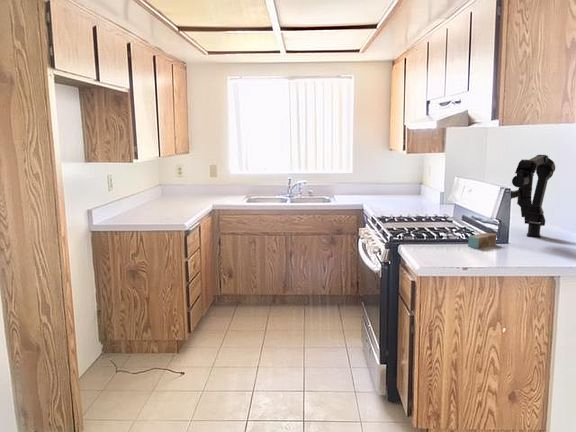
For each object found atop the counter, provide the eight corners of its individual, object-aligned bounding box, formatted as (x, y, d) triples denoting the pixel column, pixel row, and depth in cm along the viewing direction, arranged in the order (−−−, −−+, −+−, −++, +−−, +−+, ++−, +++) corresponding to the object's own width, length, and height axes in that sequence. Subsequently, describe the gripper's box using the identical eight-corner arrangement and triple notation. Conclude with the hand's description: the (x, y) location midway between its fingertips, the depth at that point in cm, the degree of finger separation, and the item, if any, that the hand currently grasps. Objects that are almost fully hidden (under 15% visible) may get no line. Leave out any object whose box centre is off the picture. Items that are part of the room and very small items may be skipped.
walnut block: (487, 232, 244) (468, 236, 236) (496, 234, 240) (478, 238, 232) (486, 242, 245) (468, 246, 237) (495, 244, 240) (477, 248, 233)
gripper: (508, 182, 256) (505, 212, 259) (507, 186, 239) (504, 218, 242) (532, 183, 251) (529, 214, 254) (533, 188, 235) (530, 220, 237)
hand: (522, 217), depth 247 cm, fingers closed
